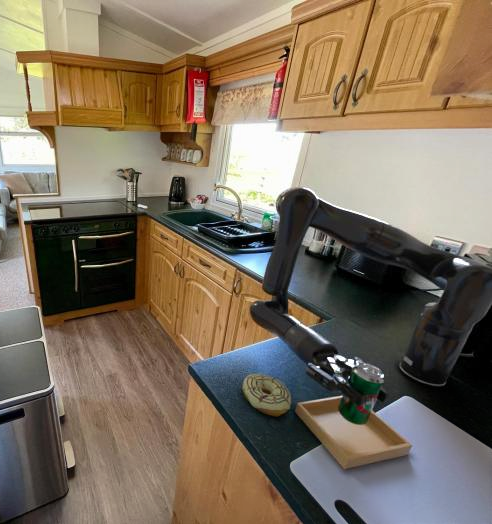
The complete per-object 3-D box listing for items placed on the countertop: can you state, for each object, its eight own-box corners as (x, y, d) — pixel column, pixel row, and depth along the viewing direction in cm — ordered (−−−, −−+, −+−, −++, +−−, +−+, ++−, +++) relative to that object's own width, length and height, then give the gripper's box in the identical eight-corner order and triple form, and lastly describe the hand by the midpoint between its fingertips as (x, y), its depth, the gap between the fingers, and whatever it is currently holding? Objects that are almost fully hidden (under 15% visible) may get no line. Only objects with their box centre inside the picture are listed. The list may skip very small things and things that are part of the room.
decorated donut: (250, 418, 63) (253, 405, 62) (235, 382, 74) (237, 370, 72) (297, 419, 64) (301, 406, 62) (276, 383, 74) (279, 371, 72)
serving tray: (349, 402, 69) (352, 393, 68) (408, 454, 57) (412, 445, 56) (294, 411, 66) (297, 402, 65) (344, 469, 54) (348, 459, 53)
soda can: (338, 402, 63) (355, 357, 59) (367, 415, 60) (386, 369, 56) (335, 417, 60) (353, 370, 55) (365, 431, 57) (386, 383, 52)
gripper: (287, 335, 68) (349, 390, 52) (337, 330, 71) (411, 380, 55) (280, 361, 70) (338, 420, 55) (329, 355, 73) (397, 410, 58)
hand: (374, 400), depth 55 cm, fingers closed on soda can, 5 cm apart
